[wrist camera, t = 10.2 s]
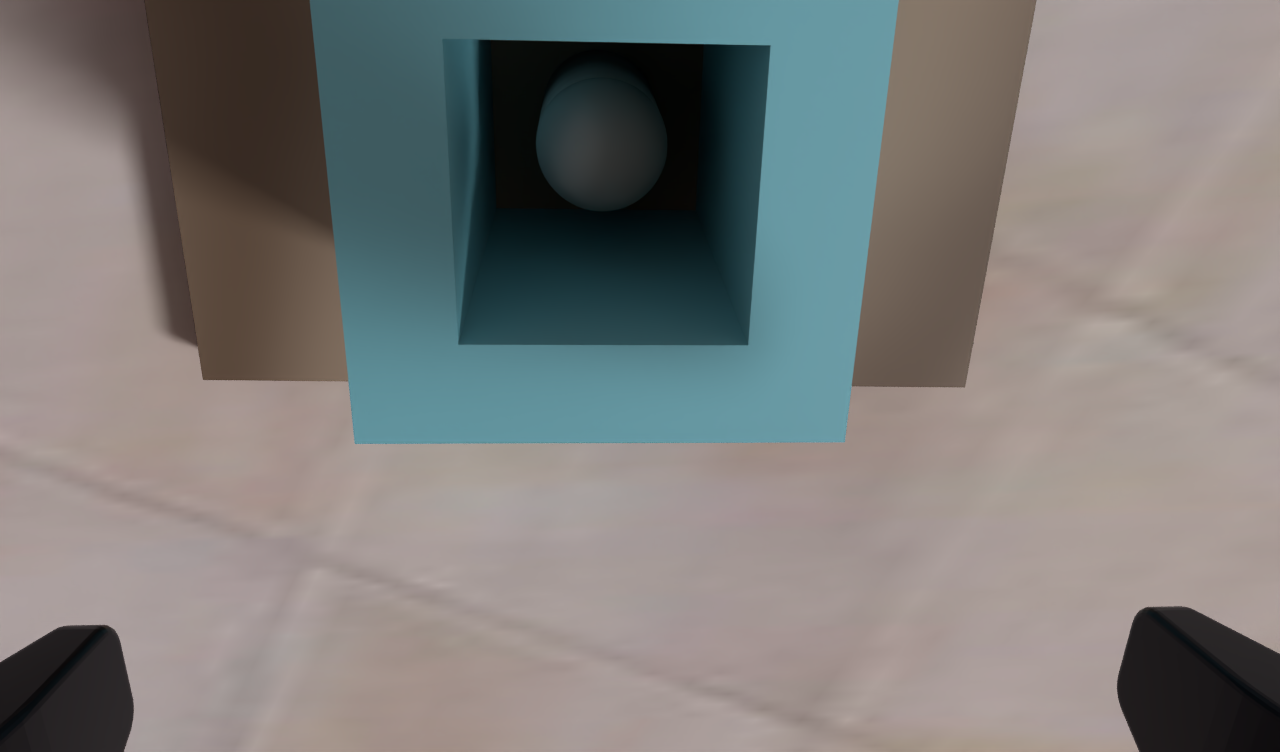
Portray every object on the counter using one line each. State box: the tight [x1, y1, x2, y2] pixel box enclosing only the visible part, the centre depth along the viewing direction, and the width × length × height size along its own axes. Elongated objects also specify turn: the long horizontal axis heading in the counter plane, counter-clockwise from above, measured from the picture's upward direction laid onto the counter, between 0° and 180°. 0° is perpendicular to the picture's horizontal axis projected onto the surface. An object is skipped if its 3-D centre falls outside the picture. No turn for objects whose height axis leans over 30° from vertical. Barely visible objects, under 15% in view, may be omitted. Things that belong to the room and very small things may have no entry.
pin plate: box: [144, 0, 1036, 387], centre depth 15 cm, size 14×10×5 cm
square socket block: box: [310, 0, 899, 444], centre depth 14 cm, size 6×6×6 cm
